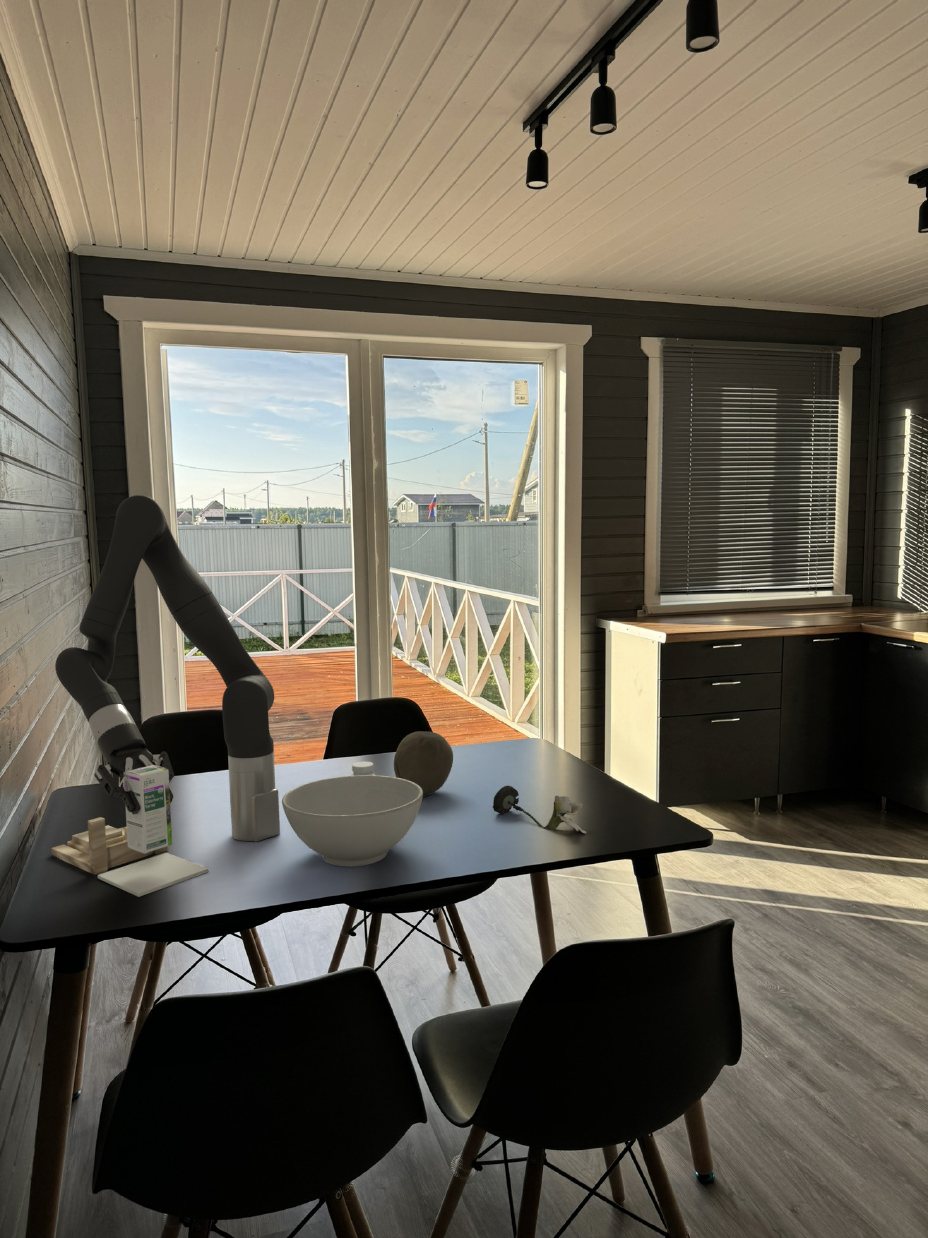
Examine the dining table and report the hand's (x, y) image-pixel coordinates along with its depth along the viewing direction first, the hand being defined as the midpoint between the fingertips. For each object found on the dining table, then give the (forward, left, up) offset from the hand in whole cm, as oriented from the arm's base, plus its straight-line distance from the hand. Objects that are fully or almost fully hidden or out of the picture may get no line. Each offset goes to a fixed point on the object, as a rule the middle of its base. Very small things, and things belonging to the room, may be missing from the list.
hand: (153, 807), depth 154 cm
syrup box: (+2, 0, -8) cm, 8 cm away
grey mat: (+1, 0, -13) cm, 13 cm away
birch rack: (+18, -1, -13) cm, 23 cm away
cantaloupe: (-6, -67, -13) cm, 69 cm away
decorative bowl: (-22, -29, -13) cm, 39 cm away
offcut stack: (+24, -1, -13) cm, 27 cm away
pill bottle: (-6, -47, -13) cm, 49 cm away
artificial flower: (-41, -66, -14) cm, 78 cm away
